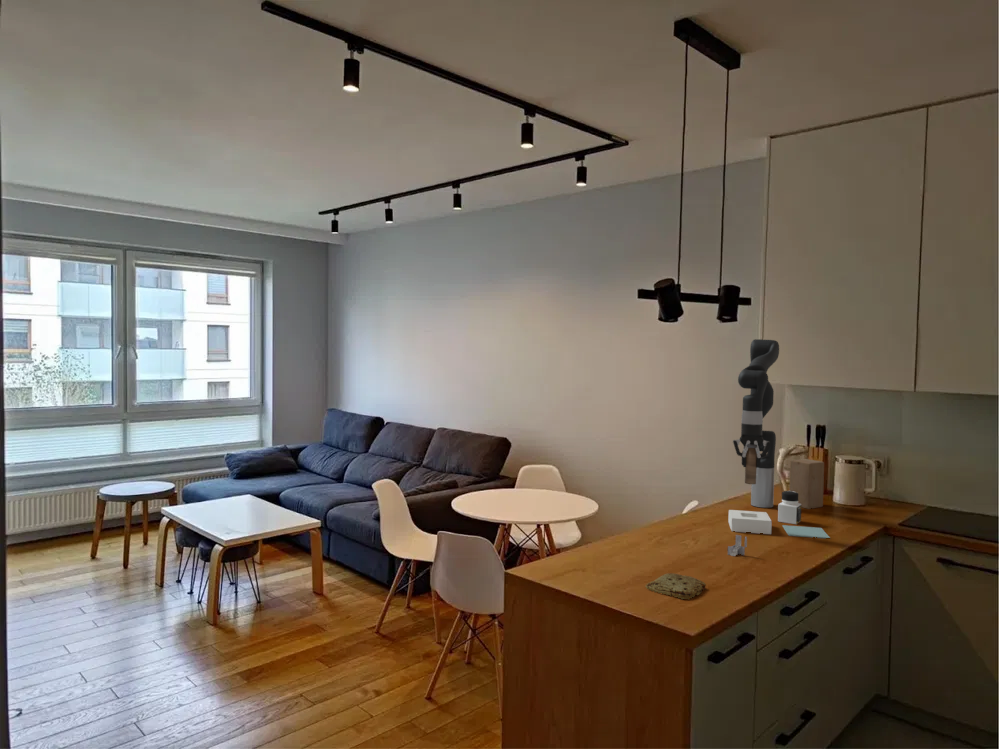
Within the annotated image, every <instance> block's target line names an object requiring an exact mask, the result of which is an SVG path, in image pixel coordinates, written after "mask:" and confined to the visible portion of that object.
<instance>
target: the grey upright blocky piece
mask: <svg viewBox="0 0 999 749" xmlns="http://www.w3.org/2000/svg"><path fill="white" fill-rule="evenodd" d="M747 547H748V537H747V536H744V545H743V546H742V535H739V534H735V544H734V545H731V546H729V545H728V546H727V555H728V556H731V557H736V555H737V556H738V555H740V554H741V556H745V550H746V549H745V548H747Z"/></svg>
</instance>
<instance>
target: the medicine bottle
mask: <svg viewBox="0 0 999 749" xmlns="http://www.w3.org/2000/svg"><path fill="white" fill-rule="evenodd" d="M777 510H778V511H777V522H780V523H785V524H792V525H798V524H799V523H800V522H801V521H802V507H801V504H800V503H798V493H796V492H794V491H790V490H784V491H782V492H781V502H780V503H778V506H777Z"/></svg>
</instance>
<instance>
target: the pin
mask: <svg viewBox="0 0 999 749" xmlns="http://www.w3.org/2000/svg"><path fill="white" fill-rule="evenodd" d="M747 447H748V450H747V453H746V456H745V457H746V467H744V469H745V470H744V484H747V485H752V484H756V464H757V453H756V449H755V448H757V445H754V444H747ZM746 449H747V448H746Z"/></svg>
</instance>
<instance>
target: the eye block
mask: <svg viewBox="0 0 999 749" xmlns="http://www.w3.org/2000/svg"><path fill="white" fill-rule="evenodd" d="M727 521H728V525H729V528H730V531H731V532H733V531H735V533H746V532H751V533H750V534H760V533H763V534H762V535H772V524H773V523H772V519H771V518H770V516H769V514H768V513H767V512H766V511H751V510H739V509H738V510H737V509H728V520H727Z"/></svg>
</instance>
